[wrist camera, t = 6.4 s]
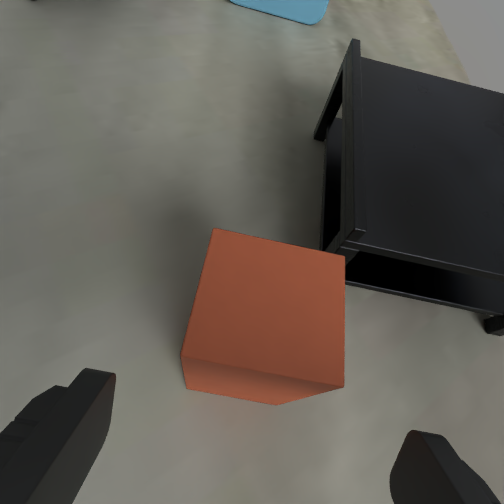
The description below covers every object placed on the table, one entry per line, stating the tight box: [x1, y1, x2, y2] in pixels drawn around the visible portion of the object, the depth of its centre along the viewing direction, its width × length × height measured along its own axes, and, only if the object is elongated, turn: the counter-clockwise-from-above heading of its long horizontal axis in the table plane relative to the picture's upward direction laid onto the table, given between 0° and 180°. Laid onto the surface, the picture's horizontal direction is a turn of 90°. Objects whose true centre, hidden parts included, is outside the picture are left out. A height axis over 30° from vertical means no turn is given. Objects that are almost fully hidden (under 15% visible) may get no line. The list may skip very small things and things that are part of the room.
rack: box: [314, 38, 504, 336], centre depth 22 cm, size 14×16×8 cm
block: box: [180, 228, 345, 405], centre depth 14 cm, size 5×5×9 cm
